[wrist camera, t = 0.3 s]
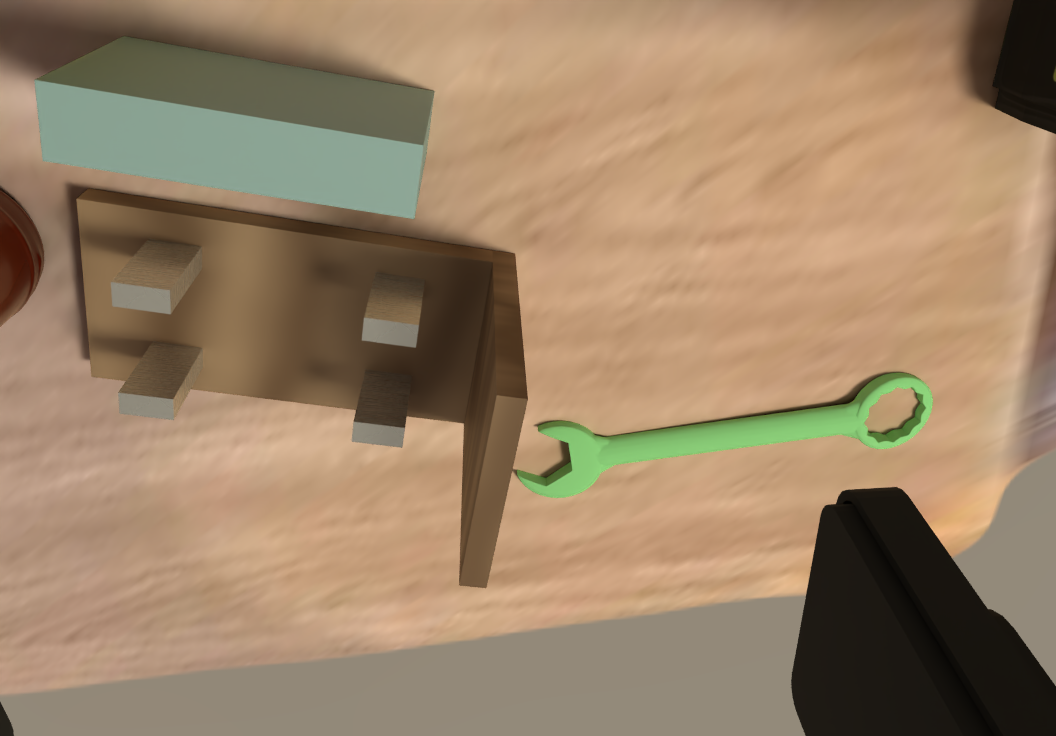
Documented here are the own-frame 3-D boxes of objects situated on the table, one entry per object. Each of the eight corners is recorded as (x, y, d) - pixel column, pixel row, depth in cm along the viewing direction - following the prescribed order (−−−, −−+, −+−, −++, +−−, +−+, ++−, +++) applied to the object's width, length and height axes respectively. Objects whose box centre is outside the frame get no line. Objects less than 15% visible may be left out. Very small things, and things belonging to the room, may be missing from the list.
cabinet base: (102, 362, 47) (-30, 536, 35) (89, 188, 42) (-71, 321, 30) (484, 411, 49) (486, 588, 37) (515, 253, 44) (527, 399, 32)
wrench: (508, 417, 51) (522, 487, 54) (508, 435, 49) (522, 506, 52) (930, 359, 50) (923, 433, 52) (945, 376, 48) (937, 452, 51)
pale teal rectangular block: (127, 102, 40) (42, 160, 32) (124, 35, 38) (34, 79, 31) (426, 152, 42) (414, 219, 34) (434, 90, 40) (423, 145, 32)
